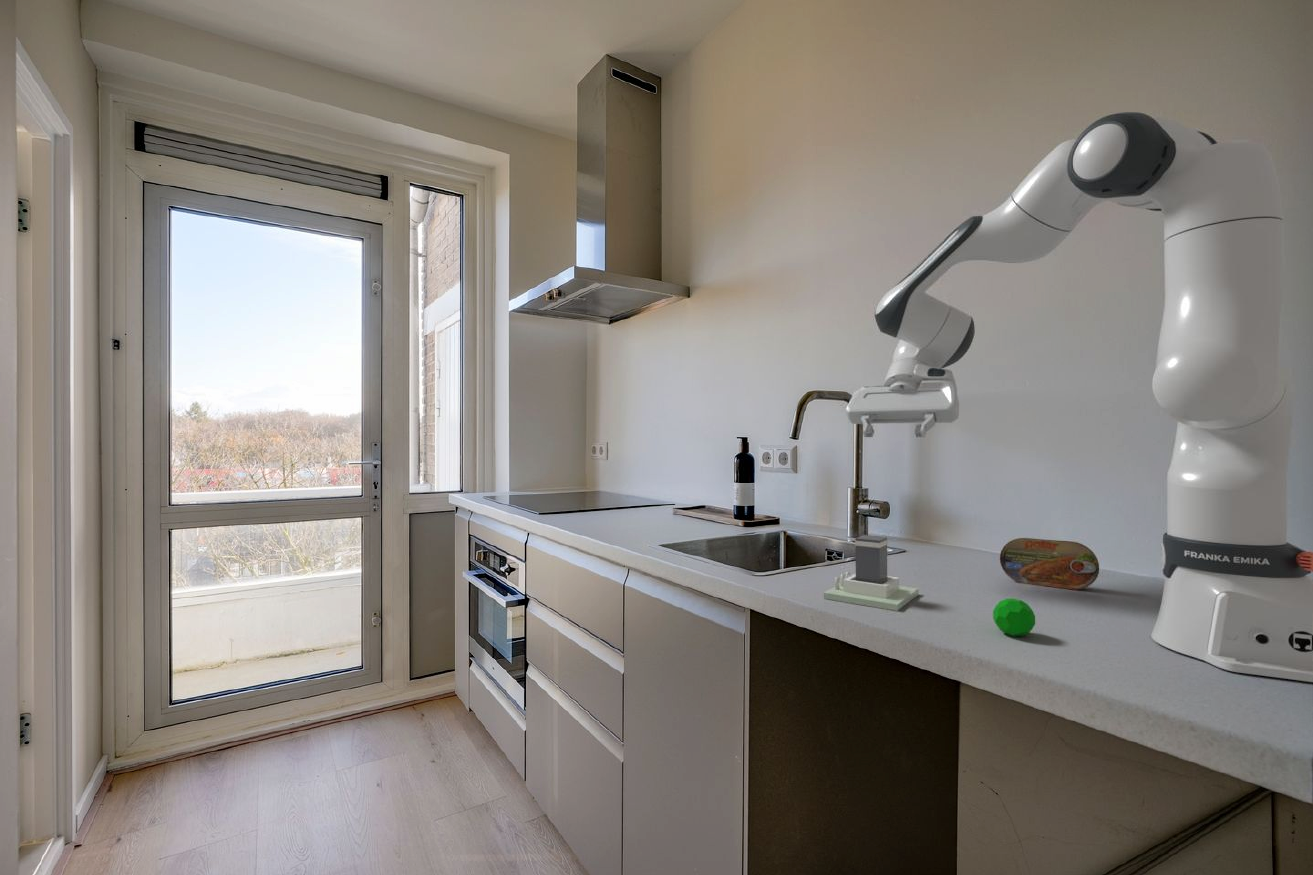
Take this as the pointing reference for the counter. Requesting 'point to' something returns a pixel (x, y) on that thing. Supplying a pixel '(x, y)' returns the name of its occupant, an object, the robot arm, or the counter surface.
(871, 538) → the dark grey tall block
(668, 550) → the counter surface
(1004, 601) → the polyhedron
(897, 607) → the board
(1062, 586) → the tin
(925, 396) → the robot arm
